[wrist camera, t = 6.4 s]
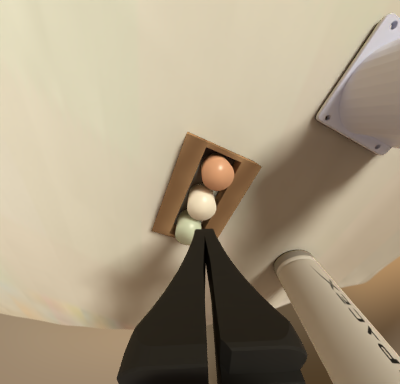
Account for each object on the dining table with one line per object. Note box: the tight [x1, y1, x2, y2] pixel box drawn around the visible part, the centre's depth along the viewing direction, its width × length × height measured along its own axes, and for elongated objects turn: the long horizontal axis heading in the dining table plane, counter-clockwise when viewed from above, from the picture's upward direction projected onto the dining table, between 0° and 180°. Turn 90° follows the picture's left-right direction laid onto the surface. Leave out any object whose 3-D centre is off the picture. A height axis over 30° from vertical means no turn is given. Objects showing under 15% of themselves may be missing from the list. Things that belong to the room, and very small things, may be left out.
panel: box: [152, 132, 261, 238], centre depth 17 cm, size 8×12×2 cm, turn 157°
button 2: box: [201, 153, 234, 191], centre depth 15 cm, size 3×3×3 cm
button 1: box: [175, 210, 201, 245], centre depth 18 cm, size 3×3×3 cm
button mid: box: [187, 184, 216, 221], centre depth 16 cm, size 3×3×3 cm
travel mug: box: [274, 250, 400, 384], centre depth 15 cm, size 6×7×20 cm
